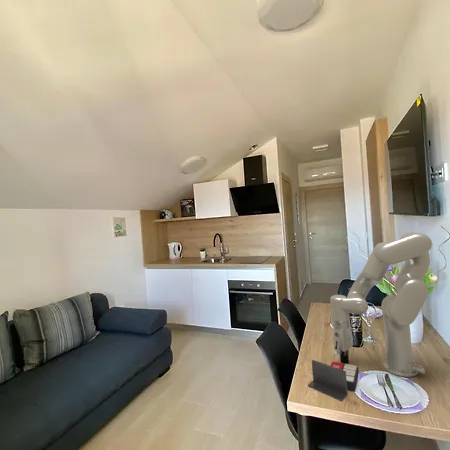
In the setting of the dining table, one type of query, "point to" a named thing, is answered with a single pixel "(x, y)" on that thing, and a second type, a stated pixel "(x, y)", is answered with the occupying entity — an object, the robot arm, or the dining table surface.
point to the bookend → (329, 380)
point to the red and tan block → (348, 374)
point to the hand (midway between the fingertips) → (344, 363)
